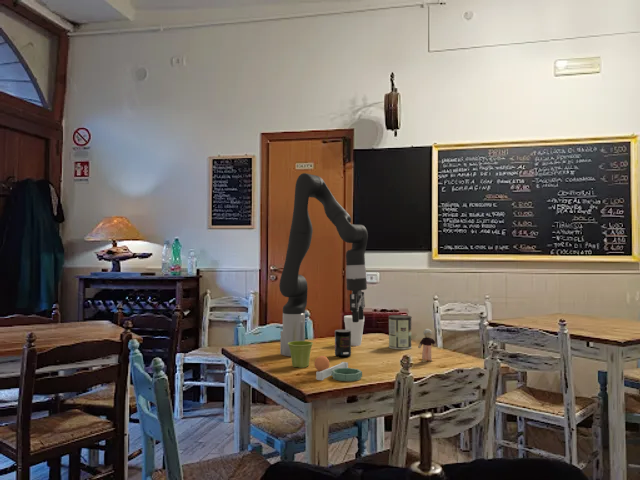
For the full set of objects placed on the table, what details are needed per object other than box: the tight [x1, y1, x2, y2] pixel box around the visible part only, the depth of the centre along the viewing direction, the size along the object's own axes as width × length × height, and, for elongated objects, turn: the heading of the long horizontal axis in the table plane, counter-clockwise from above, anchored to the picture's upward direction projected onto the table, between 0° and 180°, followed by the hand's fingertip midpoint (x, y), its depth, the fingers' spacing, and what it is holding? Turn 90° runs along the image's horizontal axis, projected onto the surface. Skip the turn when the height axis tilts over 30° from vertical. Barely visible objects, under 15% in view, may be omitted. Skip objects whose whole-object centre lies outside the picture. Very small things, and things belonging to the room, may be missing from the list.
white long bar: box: [315, 361, 349, 381], centre depth 176 cm, size 2×19×2 cm, turn 150°
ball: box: [313, 355, 330, 372], centre depth 181 cm, size 5×5×5 cm
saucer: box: [331, 367, 363, 382], centre depth 171 cm, size 10×10×2 cm
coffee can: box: [388, 314, 413, 350], centre depth 228 cm, size 10×10×14 cm
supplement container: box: [334, 329, 352, 359], centre depth 208 cm, size 7×7×10 cm
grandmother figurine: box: [417, 328, 437, 363], centre depth 199 cm, size 8×4×13 cm, turn 118°
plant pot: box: [288, 340, 314, 369], centre depth 189 cm, size 9×9×9 cm
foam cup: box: [343, 314, 365, 347], centre depth 235 cm, size 10×9×13 cm
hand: (358, 320), depth 189 cm, fingers open, 8 cm apart
